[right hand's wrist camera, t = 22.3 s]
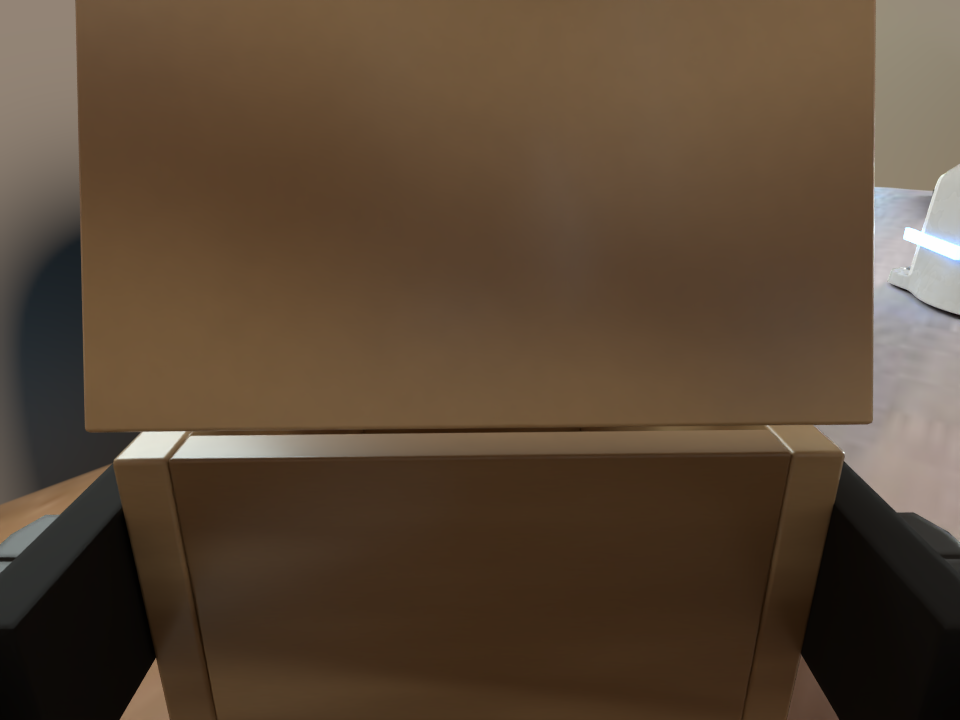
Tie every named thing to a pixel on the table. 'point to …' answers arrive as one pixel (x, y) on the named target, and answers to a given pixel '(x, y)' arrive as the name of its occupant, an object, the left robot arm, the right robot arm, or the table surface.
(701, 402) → the lid
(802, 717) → the table surface
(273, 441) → the chest
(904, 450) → the table surface
